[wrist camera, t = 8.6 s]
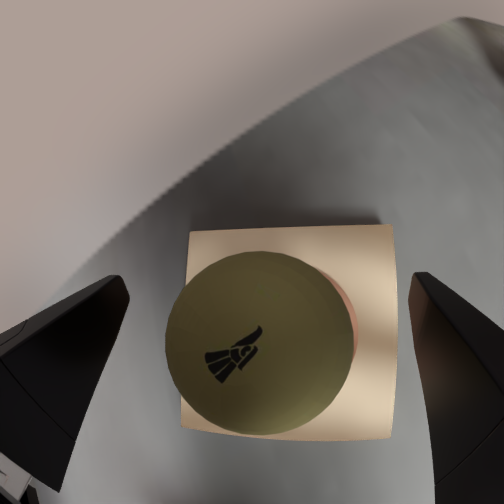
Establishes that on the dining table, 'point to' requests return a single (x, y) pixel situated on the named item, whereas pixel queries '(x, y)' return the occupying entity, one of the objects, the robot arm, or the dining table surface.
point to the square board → (358, 305)
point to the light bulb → (259, 343)
